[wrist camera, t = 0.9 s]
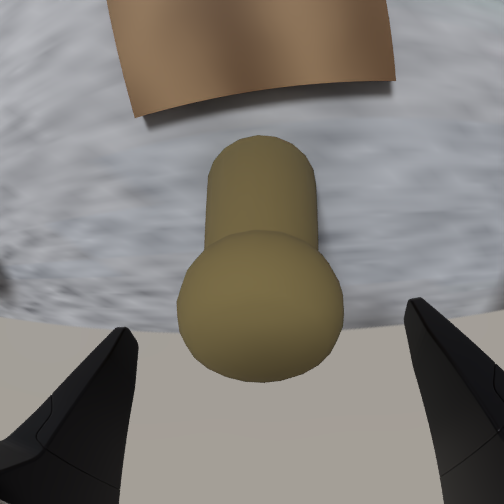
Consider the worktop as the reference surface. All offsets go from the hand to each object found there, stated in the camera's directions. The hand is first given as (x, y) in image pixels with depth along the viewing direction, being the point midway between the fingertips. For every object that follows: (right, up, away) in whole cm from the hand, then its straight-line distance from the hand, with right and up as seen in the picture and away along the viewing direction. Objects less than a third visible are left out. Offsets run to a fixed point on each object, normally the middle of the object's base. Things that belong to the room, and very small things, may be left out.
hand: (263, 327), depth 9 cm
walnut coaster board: (-1, +16, +1) cm, 16 cm away
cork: (0, +6, +8) cm, 10 cm away
